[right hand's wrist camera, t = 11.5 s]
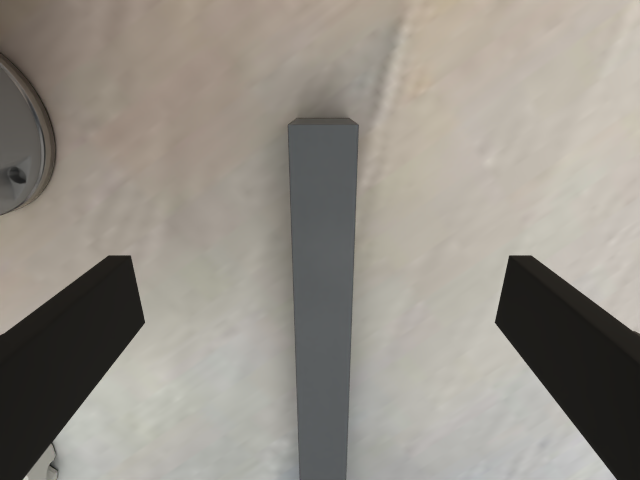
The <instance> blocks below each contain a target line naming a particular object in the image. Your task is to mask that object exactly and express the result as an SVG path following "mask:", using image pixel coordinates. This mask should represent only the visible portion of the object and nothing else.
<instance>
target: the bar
mask: <svg viewBox="0 0 640 480" xmlns="http://www.w3.org/2000/svg"><path fill="white" fill-rule="evenodd" d="M358 129H359V125H358V124H357V123H355V122H354V121H353V120H351V119H350V118H296V119H295V120H294V121H292V122H291V123H290V124H288V143H289V173H290V203H291V233H292V262H293V292H294V322H295V352H296V382H297V412H298V442H299V472H300V480H346V466H347V438H348V410H349V382H350V354H351V326H352V298H353V270H354V241H355V213H356V185H357V157H358Z"/></svg>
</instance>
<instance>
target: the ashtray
mask: <svg viewBox="0 0 640 480" xmlns="http://www.w3.org/2000/svg"><path fill="white" fill-rule="evenodd" d="M55 456H56V454H55V451H54V448H53V445H52V444H50V446H49V447H48V448H47V449H46V451H45V452H44V453H43V455H42V456H41V457H40V458H39V460H38V461H37V462H36V464H35V465H34V466H33V467H32V469H31V470H30V471H29V473H28V474H27V475H26V476H25V478H24V479H23V480H57V475H58V471H56V470H55V469H54V468H52V467H51V466H49V464H50V463H51V462H52V461H54V458H55Z"/></svg>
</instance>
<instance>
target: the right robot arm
mask: <svg viewBox="0 0 640 480" xmlns="http://www.w3.org/2000/svg"><path fill="white" fill-rule="evenodd" d="M54 162H55V142H54V135H53V131H52V126H51V123H50V120H49V117H48V115H47V112H46V110H45V108H44V106H43V104H42V102H41V100H40V98H39V96H38V95H37V93H36V92H35V90H34V88H33V87H32V86H31V84H30V83H29V81H28V80H27V79H26V78H25V77H24V75H23V74H22V73H21V72H20V71H19V70H18V69H17V68H16V67H15V66H14V65H13V64H12V63H11V62H10V61H9V60H8V59H7V58H6V57H5V56H3V55H2V54H1V53H0V215H3V214H6V213H9V212H11V211H14V210H17V209H19V208H22V207H24V206H26V205H28V204H29V203H31V202H32V201H33V200H35V199H36V198H37V197H38V196H39V195H40V194H41V193H42V191H43V190H44V189H45V187H46V185H47V184H48V182H49V180H50V177H51V174H52V171H53V167H54ZM144 323H145V320H144V315H143V311H142V306H141V301H140V297H139V292H138V287H137V283H136V278H135V273H134V268H133V264H132V259H131V256H107V257H106V258H105V259H103V260H102V261H101V262H99V263H98V264H97V265H95V266H94V267H93V268H91V269H90V270H89V271H87V272H86V273H85V274H83V275H82V276H81V277H79V278H78V279H77V280H75V281H74V282H73V283H71V284H70V285H69V286H67V287H66V288H65V289H63V290H62V291H60V292H59V293H58V294H56V295H55V296H54V297H52V298H51V299H50V300H48V301H47V302H46V303H44V304H43V305H42V306H40V307H39V308H38V309H36V310H35V311H34V312H32V313H31V314H30V315H28V316H27V317H26V318H24V319H23V320H22V321H20V322H19V323H18V324H16V325H15V326H14V327H12V328H11V329H10V330H8V331H7V332H6V333H4V334H2V335H0V480H23V479H24V478H25V476H26V475H27V474H28V473H29V471H30V470H31V469H32V467H33V466H34V465H35V464H36V462H37V461H38V460H39V458H40V457H41V456H42V455H43V453H44V452H45V451H46V449H47V448H48V447H49V446H50V444H51V443H52V442H53V440H54V439H55V438H56V437H57V435H58V434H59V433H60V431H61V430H62V429H63V428H64V426H65V425H66V424H67V422H68V421H69V420H70V419H71V417H72V416H73V415H74V413H75V412H76V411H77V410H78V408H79V407H80V406H81V404H82V403H83V402H84V401H85V399H86V398H87V397H88V395H89V394H90V393H91V392H92V390H93V389H94V388H95V386H96V385H97V384H98V383H99V381H100V380H101V379H102V377H103V376H104V375H105V374H106V372H107V371H108V370H109V368H110V367H111V366H112V365H113V363H114V362H115V361H116V359H117V358H118V357H119V356H120V354H121V353H122V352H123V350H124V349H125V348H126V347H127V345H128V344H129V343H130V341H131V340H132V339H133V338H134V336H135V335H136V334H137V332H138V331H139V330H140V329H141V327H142V326H143V325H144ZM495 323H496V325H497V326H498V327H499V329H500V330H501V331H502V332H503V334H504V335H505V336H506V338H507V339H508V340H509V341H510V343H511V344H512V345H513V347H514V348H515V349H516V350H517V352H518V353H519V354H520V356H521V357H522V358H523V359H524V361H525V362H526V363H527V365H528V366H529V367H530V368H531V370H532V371H533V372H534V374H535V375H536V376H537V377H538V379H539V380H540V381H541V383H542V384H543V385H544V386H545V388H546V389H547V390H548V392H549V393H550V394H551V395H552V397H553V398H554V399H555V401H556V402H557V403H558V404H559V406H560V407H561V408H562V410H563V411H564V412H565V413H566V415H567V416H568V417H569V419H570V420H571V421H572V422H573V424H574V425H575V426H576V428H577V429H578V430H579V431H580V433H581V434H582V435H583V437H584V438H585V439H586V440H587V442H588V443H589V444H590V446H591V447H592V448H593V449H594V451H595V452H596V453H597V455H598V456H599V457H600V458H601V460H602V461H603V462H604V464H605V465H606V466H607V467H608V469H609V470H610V471H611V473H612V474H613V475H614V476H615V478H616V479H617V480H640V334H639V333H637V332H635V331H632V330H630V329H629V328H628V327H626V326H625V325H624V324H622V323H621V322H620V321H618V320H617V319H616V318H614V317H613V316H612V315H610V314H609V313H608V312H606V311H605V310H604V309H602V308H601V307H600V306H598V305H597V304H596V303H594V302H593V301H592V300H590V299H589V298H588V297H586V296H585V295H584V294H582V293H581V292H580V291H578V290H577V289H575V288H574V287H573V286H571V285H570V284H569V283H567V282H566V281H565V280H563V279H562V278H561V277H559V276H558V275H557V274H555V273H554V272H553V271H551V270H550V269H549V268H547V267H546V266H545V265H543V264H542V263H541V262H539V261H538V260H537V259H535V258H534V257H533V256H509V259H508V264H507V268H506V273H505V278H504V283H503V287H502V292H501V297H500V301H499V306H498V311H497V315H496V320H495Z"/></svg>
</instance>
